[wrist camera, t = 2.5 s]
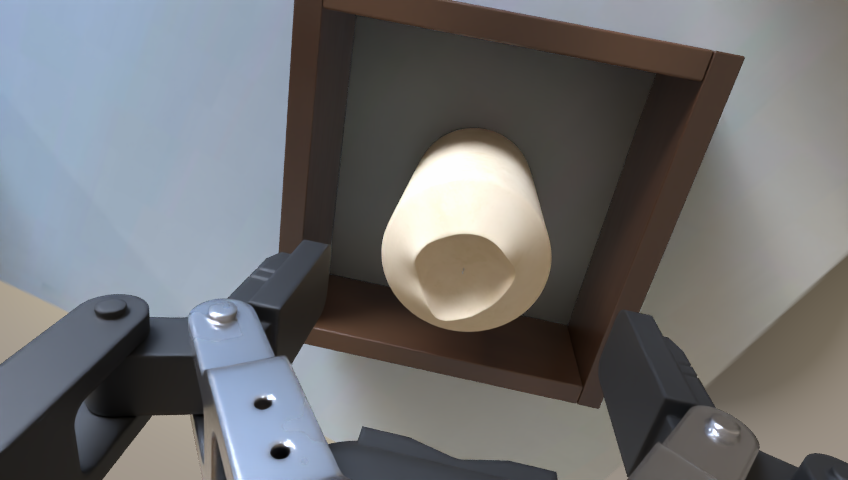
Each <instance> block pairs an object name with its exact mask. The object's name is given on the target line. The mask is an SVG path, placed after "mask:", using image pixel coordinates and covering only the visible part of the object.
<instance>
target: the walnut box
mask: <svg viewBox="0 0 848 480" xmlns="http://www.w3.org/2000/svg"><path fill="white" fill-rule="evenodd" d="M356 15H358V16H364V17H369V18H374V19H379V20H384V21H389V22H395V23H400V24H405V25H410V26H415V27H420V28H425V29H431V30H436V31H441V32H446V33H451V34H456V35H461V36H467V37H472V38H477V39H482V40H487V41H492V42H497V43H503V44H508V45H513V46H518V47H523V48H528V49H534V50H539V51H544V52H549V53H554V54H559V55H564V56H570V57H575V58H580V59H585V60H590V61H595V62H600V63H606V64H611V65H616V66H621V67H626V68H631V69H637V70H642V71H647V72H652V73H656V75H655V78H654V81H653V84H652V87H651V89H650V92H649V95H648V98H647V101H646V104H645V107H644V109H643V112H642V115H641V118H640V121H639V124H638V127H637V129H636V132H635V135H634V138H633V141H632V144H631V146H630V149H629V152H628V155H627V158H626V161H625V164H624V166H623V169H622V172H621V175H620V178H619V181H618V184H617V186H616V189H615V192H614V195H613V198H612V201H611V204H610V206H609V209H608V212H607V215H606V218H605V221H604V223H603V226H602V229H601V232H600V235H599V238H598V241H597V243H596V246H595V249H594V252H593V255H592V258H591V261H590V263H589V266H588V269H587V272H586V275H585V278H584V281H583V283H582V286H581V289H580V292H579V295H578V298H577V300H576V303H575V306H574V309H573V312H572V315H571V318H570V320H569V323H568V326H567V325H564V324H559V323H554V322H550V321H545V320H540V319H536V318H531V317H526V316H522V315H520V316H519V317H518V318H516V319H514V320H512V321H511V322H509V323H507V324H504V325H502V326H499V327H496V328H493V329H489V330H483V331H474V332H462V331H454V330H448V329H444V328H441V327H437V326H435V325H432V324H430V323H428V322H426V321H424V320H422V319H420V318H419V317H417V316H416V315H415V314H413V313H412V312H411V311H409V310H408V309H407V308H406V307H405V306H404V305H403V304H402V303H401V302H400V301H399V300H398V298H397V297H396V295H395V294H394V293H393V291H392V289H391V288H390V287H387V286H382V285H378V284H373V283H368V282H364V281H359V280H354V279H350V278H345V277H340V276H336V275H331V274H329V281H328V290H327V297H326V302H325V305H324V309H323V311H322V314H321V316H320V317H319V319H318V321H317V322H316V324H315V326H314V327H313V329H312V331H311V332H310V334H309V336H308V337H307V339H306V341H305V342H304V344H309V345H313V346H318V347H322V348H327V349H331V350H336V351H340V352H345V353H349V354H354V355H358V356H363V357H367V358H372V359H376V360H381V361H385V362H390V363H394V364H399V365H404V366H408V367H413V368H417V369H422V370H426V371H431V372H435V373H440V374H444V375H449V376H453V377H458V378H462V379H467V380H471V381H476V382H480V383H485V384H489V385H494V386H499V387H503V388H508V389H512V390H517V391H521V392H526V393H530V394H535V395H539V396H544V397H548V398H553V399H557V400H562V401H566V402H571V403H577V404H579V405H583V406H588V407H592V408H597V409H599V408H600V405H601V403H602V401H603V398H604V395H603V392H602V388H601V385H600V382H599V377H598V367H599V361H600V357H601V354H602V352H603V349H604V347H605V344H606V342H607V339H608V337H609V334H610V332H611V329H612V327H613V324H614V321H615V319H616V317H617V315H618V313H619V312H620V311H621V310H628V311H632V312H637V313H639V311H640V309H641V307H642V304H643V302H644V299H645V297H646V295H647V292H648V290H649V287H650V285H651V283H652V280H653V278H654V275H655V273H656V271H657V268H658V266H659V263H660V261H661V259H662V256H663V254H664V251H665V249H666V246H667V244H668V242H669V239H670V237H671V234H672V232H673V230H674V227H675V225H676V222H677V220H678V218H679V215H680V213H681V210H682V208H683V206H684V203H685V201H686V198H687V196H688V194H689V191H690V189H691V186H692V184H693V182H694V179H695V177H696V174H697V172H698V169H699V167H700V165H701V162H702V160H703V157H704V155H705V153H706V150H707V148H708V145H709V143H710V141H711V138H712V136H713V133H714V131H715V129H716V126H717V124H718V121H719V119H720V117H721V114H722V112H723V109H724V107H725V105H726V102H727V100H728V97H729V95H730V92H731V90H732V88H733V85H734V83H735V80H736V78H737V76H738V73H739V71H740V68H741V66H742V64H743V61H744V59H745V57H744V56H740V55H734V54H729V53H724V52H719V51H712V50H708V49H703V48H698V47H693V46H687V45H682V44H677V43H672V42H666V41H661V40H656V39H651V38H646V37H640V36H635V35H630V34H625V33H619V32H614V31H609V30H604V29H599V28H593V27H588V26H583V25H578V24H573V23H567V22H562V21H557V20H552V19H546V18H541V17H536V16H531V15H526V14H520V13H515V12H510V11H505V10H499V9H494V8H489V7H484V6H479V5H473V4H468V3H463V2H458V1H452V0H294V15H293V31H292V47H291V63H290V80H289V96H288V112H287V128H286V144H285V161H284V177H283V193H282V209H281V225H280V242H279V253H280V252H284V253H289V254H291V253H292V252H293V251H294V250H295V249H296V248H297V246H298V245H299V244H300V243H301V242H302V241H303V240H304V239H306V240H310V241H315V242H319V243H324V244H328V245H331V243H332V234H333V225H334V216H335V207H336V197H337V188H338V179H339V170H340V161H341V152H342V142H343V133H344V124H345V115H346V106H347V97H348V87H349V78H350V69H351V60H352V51H353V42H354V33H355V23H356Z"/></svg>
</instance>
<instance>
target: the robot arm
mask: <svg viewBox="0 0 848 480" xmlns="http://www.w3.org/2000/svg"><path fill="white" fill-rule="evenodd" d="M331 253H332V248H331V245H328V244H324V243H319V242H315V241H310V240H306V239H304V240H303V241H302V242H301V243H300V244H299V245H298V246H297V248H296V249H295V250H294V251H293V252H292V253H291V254H289V253H284V252H280V253H278V254H276V255H273V256H271V257H269V258H266V260H265V261H264V262H263V263H262V264H261V265H260V266H259V267H258V269H256V270H255V271H254V272H253V273H252V274H251V275H250V277H248V278H247V279H246V280H245V281H244V282H243V283H242V284H241V285H240V286H239V287H238V288H237V289H236V290H235V291H234V292H233V293H232V294H231V295H230V296H229V297H228V298H227V299H214V300H210V301H206V302H203V303H201V304H199V305H197V306H196V307H194V308H193V309H192V310H191V312H190V313H189V316H188V317H186V318H167V317H149V306H148V304H147V303H146V302H145V301H144V300H143V299H141V298H139V297H136V296H132V295H125V294H113V295H105V296H100V297H97V298H93V299H91V300H88V301H86V302H84V303H82V304H80V305H79V306H78V307H76V308H75V309H74V310H72V311H71V312H70V313H68V314H67V315H66V316H64V317H63V318H62V319H60V320H59V321H58V322H56V323H55V324H53V325H52V326H51V327H49V328H48V329H47V330H45V331H44V332H43V333H41V334H40V335H39V336H38V337H36V338H35V339H33V340H32V341H31V342H29V343H28V344H27V345H26V346H24V347H23V348H22V349H20V350H19V351H17V352H16V353H15V354H14V355H12V356H11V357H9V358H8V359H7V360H5V361H4V362H3V363H1V364H0V480H102V479H103V478H104V477H105V476H106V474H107V473H108V472H109V470H110V469H111V468H112V466H113V465H114V464H115V463H116V461H117V460H118V459H119V458H120V456H121V455H122V454H123V452H124V451H125V450H126V448H127V447H128V446H129V445H130V443H131V442H132V441H133V440H134V438H135V437H136V436H137V435H138V433H139V432H140V431H141V429H142V428H143V427H144V426H145V424H146V423H147V422H148V420H149V419H150V418H151V416H152V415H187V414H190V417H191V423H192V428H193V433H194V438H195V444H196V449H197V454H198V459H199V464H200V469H201V474H202V480H557V473H556V472H554V471H550V470H546V469H541V468H537V467H533V466H529V465H524V464H520V463H516V462H512V461H500V460H461V459H456V458H453V457H451V456H449V455H447V454H444V453H442V452H440V451H438V450H436V449H433V448H431V447H429V446H427V445H425V444H423V443H420V442H418V441H416V440H414V439H412V438H410V437H406V436H401V435H397V434H393V433H389V432H384V431H380V430H376V429H372V428H367V427H363V426H362V429H361V432H360V435H359V438H358V441H345V442H336V443H331V444H328V443H327V441H326V439H325V437H324V435H323V433H322V430H321V428H320V426H319V424H318V422H317V420H316V417H315V415H314V413H313V411H312V409H311V407H310V404H309V402H308V400H307V398H306V396H305V394H304V391H303V389H302V387H301V385H300V383H299V381H298V378H297V376H296V374H295V372H294V370H293V368H292V365H291V364H292V362H293V361H294V359H295V357H296V356H297V354H298V352H299V351H300V349H301V347H302V346H303V344H304V342H305V341H306V339H307V337H308V336H309V334H310V332H311V331H312V329H313V327H314V326H315V324H316V322H317V321H318V319H319V317H320V316H321V314H322V311H323V309H324V305H325V302H326V297H327V290H328V281H329V272H330V263H331ZM690 365H691V364H690V362H689V361H688V359H687V357H686V355H685V354H684V352H683V351H682V350H681V349H680V348H679V347H678V346H677V345H676V344H675V343H674V342H673V341H671V340H670V339H669V338H667V337H663V335H662V333H661V332H660V330H659V328H658V326H657V324H656V322H655V320H654V319H653V317H652V316H650V315H646V314H642V313H637V312H632V311H628V310H621V311H620V312H619V313H618V315H617V317H616V319H615V321H614V324H613V327H612V329H611V332H610V334H609V337H608V339H607V342H606V344H605V347H604V349H603V352H602V354H601V357H600V361H599V367H598V377H599V382H600V385H601V388H602V392H603V395H604V399H605V402H606V405H607V409H608V412H609V416H610V419H611V422H612V426H613V429H614V433H615V436H616V440H617V443H618V446H619V450H620V453H621V457H622V460H623V463H624V466H625V470H626V473H627V477H629V478H628V479H627V480H848V463H846V462H844V461H842V460H839V459H837V458H834V457H832V456H828V455H825V454H817V453H814V454H809V455H807V456H806V457H805V459H804V461H803V462H802V463H801V465H800V467H799V468H798V467H795V466H793V465H791V464H789V463H786V462H784V461H782V460H780V459H777V458H775V457H773V456H770V455H768V454H766V453H764V452H762V451H760V450H759V448H760V447H759V442H758V440H757V438H756V436H755V435H754V434H753V432H752V431H751V430H750V429H749V428H748V427H747V426H746V425H745V424H743V423H742V422H741V421H739V420H738V419H737V418H735V417H733V416H732V415H730V414H728V413H726V412H724V411H722V410H720V409H716V407H715V406H714V404H713V402H712V401H711V399H710V397H709V395H708V394H707V392H706V390H705V388H704V387H703V385H702V383H701V381H700V380H699V378H697V374H696V373H695V371H694V369H693V368H692V367H690Z"/></svg>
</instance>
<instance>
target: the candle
mask: <svg viewBox="0 0 848 480" xmlns="http://www.w3.org/2000/svg"><path fill="white" fill-rule="evenodd" d="M381 253H382V264H383V269H384V273H385V276H386V279H387V282H388V284H389V286H390V288H391V289H392V291H393V293H394V294H395V295H396V297H397V298H398V300H399V301H400V302H401V303H402V304H403V305H404V306H405V307H406V308H407V309H408V310H409V311H411V312H412V313H413V314H415V315H416V316H417V317H419V318H420V319H422V320H424V321H426V322H428V323H430V324H432V325H435V326H437V327H441V328H444V329H448V330H454V331H462V332H474V331H483V330H489V329H493V328H496V327H499V326H502V325H504V324H507V323H509V322H511V321H512V320H514V319H516V318H518V317H519V316H520V315H522V314H523V313H524V312H526V311H527V310H528V309H529V308H530V307H531V306H532V305H533V304H534V302H535V301H536V300H537V299H538V297H539V296H540V294H541V292H542V291H543V289H544V287H545V285H546V282H547V280H548V277H549V273H550V268H551V258H552V257H551V246H550V241H549V236H548V233H547V229H546V225H545V222H544V218H543V214H542V211H541V207H540V203H539V200H538V196H537V192H536V189H535V185H534V181H533V178H532V174H531V171H530V168H529V166H528V163H527V161H526V159H525V157H524V155H523V154H522V152H521V151H520V150H519V148H518V147H517V146H516V145H515V144H514V143H513V142H511V141H510V140H509V139H508V138H506V137H504V136H503V135H501V134H499V133H497V132H494V131H491V130H488V129H482V128H465V129H460V130H456V131H453V132H451V133H448V134H446V135H444V136H443V137H441V138H440V139H438V140H437V141H436V142H434V143H433V144H432V145H431V146H430V147H429V148H428V150H427V151H426V152H425V154H424V155H423V157H422V158H421V160H420V162H419V164H418V166H417V168H416V170H415V172H414V174H413V176H412V177H411V179H410V181H409V183H408V185H407V187H406V189H405V191H404V193H403V195H402V197H401V199H400V201H399V203H398V205H397V207H396V209H395V211H394V213H393V215H392V217H391V219H390V221H389V223H388V225H387V228H386V230H385V233H384V237H383V242H382V252H381Z"/></svg>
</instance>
